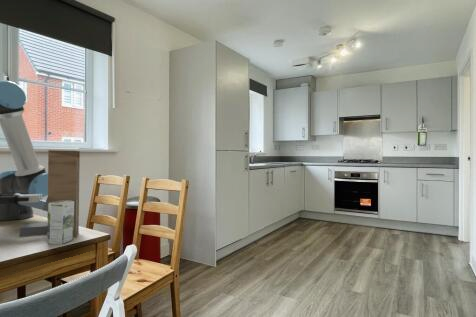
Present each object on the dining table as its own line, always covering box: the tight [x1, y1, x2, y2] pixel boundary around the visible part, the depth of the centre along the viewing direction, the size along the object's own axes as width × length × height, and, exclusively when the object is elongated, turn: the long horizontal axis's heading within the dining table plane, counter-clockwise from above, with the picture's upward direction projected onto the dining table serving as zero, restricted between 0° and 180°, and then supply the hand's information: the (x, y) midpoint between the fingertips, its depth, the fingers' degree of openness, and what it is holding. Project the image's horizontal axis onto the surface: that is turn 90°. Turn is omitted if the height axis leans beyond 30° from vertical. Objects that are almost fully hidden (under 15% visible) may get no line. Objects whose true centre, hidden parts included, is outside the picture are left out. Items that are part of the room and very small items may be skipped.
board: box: [19, 222, 48, 237], centre depth 115 cm, size 7×14×3 cm, turn 112°
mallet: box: [13, 193, 48, 212], centre depth 114 cm, size 17×4×8 cm, turn 112°
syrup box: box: [46, 200, 74, 245], centre depth 101 cm, size 6×6×14 cm
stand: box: [46, 149, 81, 239], centre depth 109 cm, size 8×9×32 cm
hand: (40, 198), depth 114 cm, fingers closed on mallet, 3 cm apart
